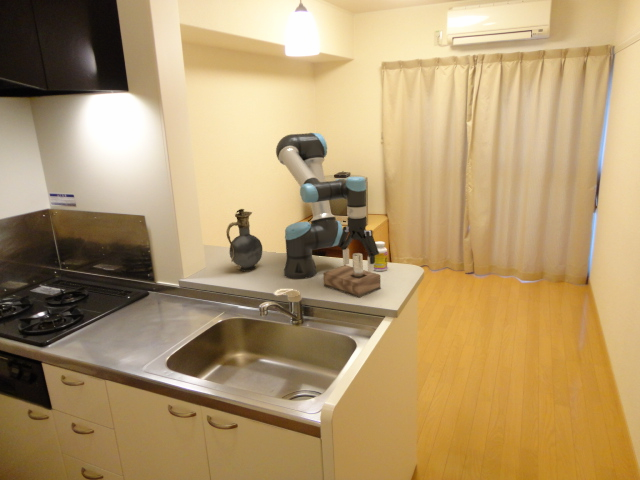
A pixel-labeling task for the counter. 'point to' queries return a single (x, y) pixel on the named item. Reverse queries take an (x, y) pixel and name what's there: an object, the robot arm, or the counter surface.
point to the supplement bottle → (381, 257)
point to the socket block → (351, 281)
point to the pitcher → (244, 243)
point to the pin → (357, 265)
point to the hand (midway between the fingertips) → (358, 267)
